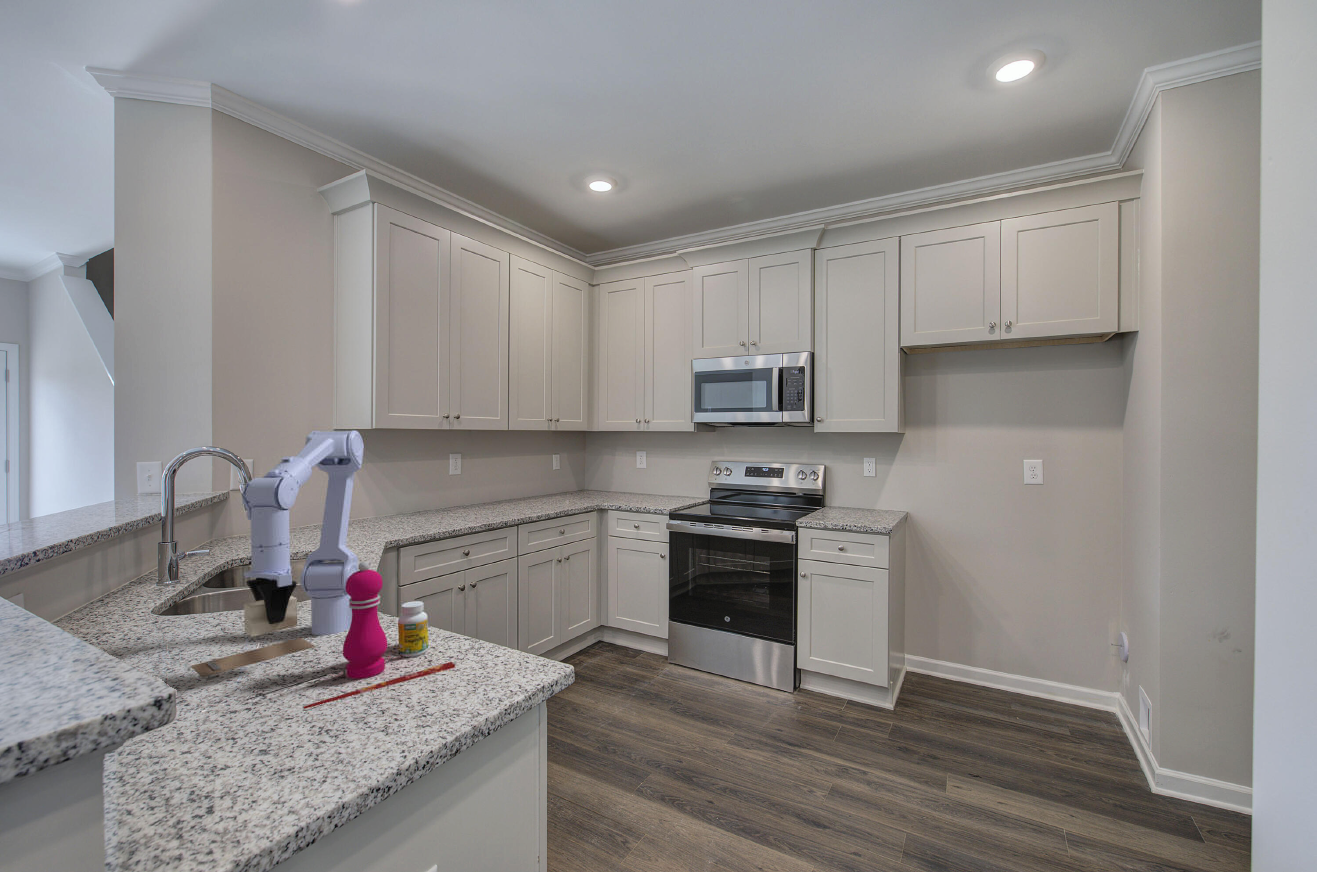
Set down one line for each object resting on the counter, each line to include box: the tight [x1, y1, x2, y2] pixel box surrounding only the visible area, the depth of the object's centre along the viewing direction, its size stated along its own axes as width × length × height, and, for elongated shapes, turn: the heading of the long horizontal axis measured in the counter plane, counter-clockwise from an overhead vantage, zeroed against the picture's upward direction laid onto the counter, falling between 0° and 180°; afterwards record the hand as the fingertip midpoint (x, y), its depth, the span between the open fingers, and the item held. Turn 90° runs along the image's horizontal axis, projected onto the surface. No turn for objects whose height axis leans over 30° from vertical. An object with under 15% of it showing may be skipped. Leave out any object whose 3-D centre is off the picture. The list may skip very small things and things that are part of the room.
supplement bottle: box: [397, 600, 429, 658], centre depth 113 cm, size 5×5×10 cm
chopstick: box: [303, 661, 456, 710], centre depth 98 cm, size 2×24×1 cm, turn 132°
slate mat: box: [246, 674, 328, 701], centre depth 101 cm, size 12×10×1 cm
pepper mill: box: [342, 561, 388, 680], centre depth 104 cm, size 7×7×20 cm
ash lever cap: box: [243, 595, 298, 637], centre depth 103 cm, size 7×4×5 cm, turn 140°
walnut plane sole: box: [190, 637, 317, 678], centre depth 109 cm, size 18×8×1 cm, turn 140°
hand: (272, 620), depth 103 cm, fingers closed on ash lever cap, 4 cm apart
